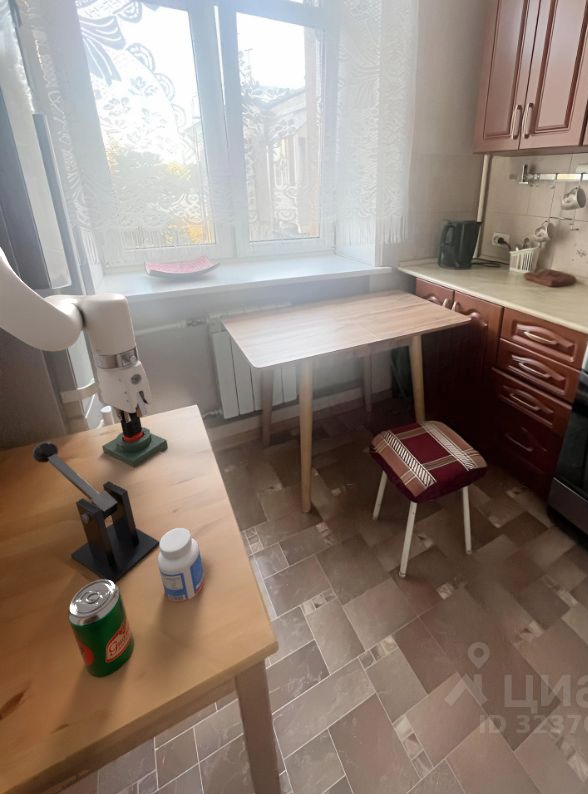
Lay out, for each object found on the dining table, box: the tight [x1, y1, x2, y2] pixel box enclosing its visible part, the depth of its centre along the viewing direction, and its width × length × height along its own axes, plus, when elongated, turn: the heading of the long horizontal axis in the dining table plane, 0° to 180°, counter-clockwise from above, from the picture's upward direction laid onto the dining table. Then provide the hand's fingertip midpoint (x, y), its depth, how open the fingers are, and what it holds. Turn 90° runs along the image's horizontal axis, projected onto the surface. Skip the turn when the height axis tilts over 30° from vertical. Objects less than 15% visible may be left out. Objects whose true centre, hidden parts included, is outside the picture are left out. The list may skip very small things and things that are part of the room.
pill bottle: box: [157, 527, 205, 603], centre depth 56 cm, size 6×5×10 cm
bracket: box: [70, 480, 160, 584], centre depth 61 cm, size 10×8×12 cm
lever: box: [32, 441, 118, 521], centre depth 61 cm, size 17×3×3 cm, turn 64°
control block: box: [101, 426, 169, 468], centre depth 85 cm, size 10×8×4 cm
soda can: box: [67, 578, 135, 679], centre depth 47 cm, size 5×5×12 cm
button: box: [123, 431, 143, 442], centre depth 85 cm, size 4×4×2 cm
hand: (133, 433), depth 84 cm, fingers closed
